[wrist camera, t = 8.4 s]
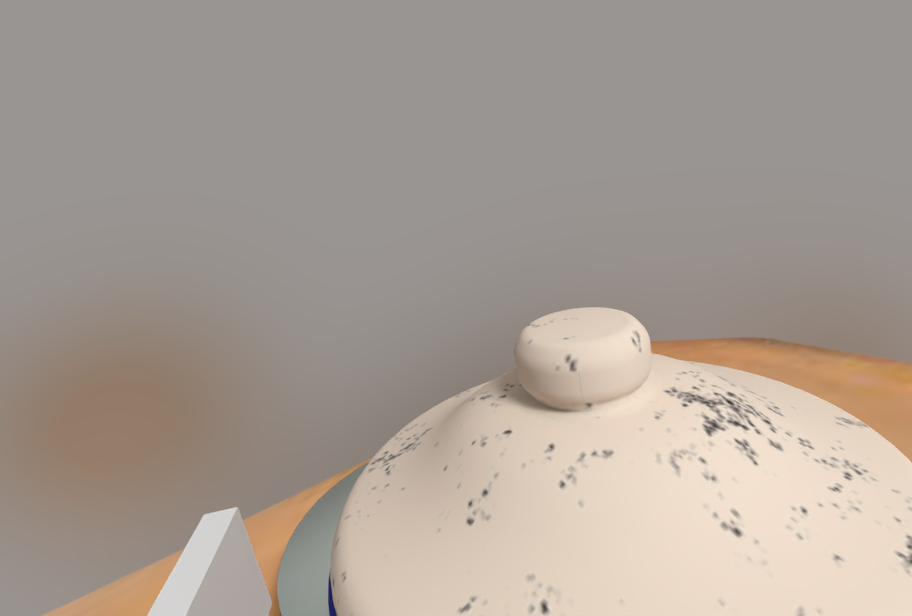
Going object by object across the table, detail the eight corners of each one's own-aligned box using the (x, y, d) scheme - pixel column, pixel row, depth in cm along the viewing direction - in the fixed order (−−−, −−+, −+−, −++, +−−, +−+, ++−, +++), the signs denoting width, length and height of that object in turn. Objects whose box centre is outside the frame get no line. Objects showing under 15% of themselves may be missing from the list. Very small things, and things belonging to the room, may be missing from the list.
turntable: (217, 596, 32) (208, 574, 31) (441, 424, 47) (437, 408, 46) (502, 831, 18) (494, 799, 18) (691, 483, 33) (689, 460, 33)
